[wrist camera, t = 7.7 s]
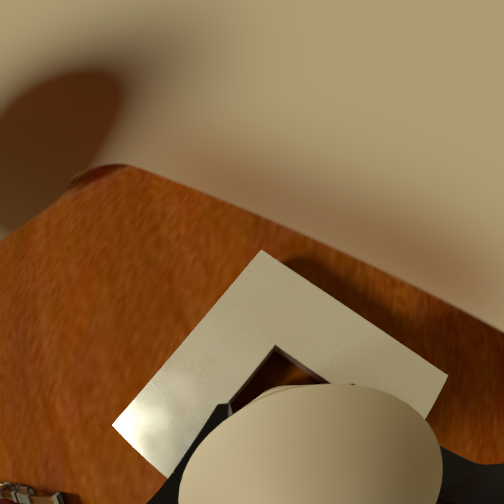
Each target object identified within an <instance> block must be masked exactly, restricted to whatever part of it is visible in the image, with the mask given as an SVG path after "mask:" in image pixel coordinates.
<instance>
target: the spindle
mask: <svg viewBox="0 0 504 504" xmlns="http://www.w3.org/2000/svg"><path fill="white" fill-rule="evenodd" d="M442 474H443V467H442V456H441V451H440V446H439V444H438V441H437V439H436V436H435V434H434V432H433V431H432V429H431V427H430V426H429V424H428V423H427V421H426V420H425V419H424V418H423V417H422V416H421V415H420V413H419V412H417V411H416V410H415V409H414V408H412V407H411V406H410V405H409V404H407V403H406V402H404V401H402V400H401V399H399V398H397V397H395V396H393V395H391V394H388V393H386V392H383V391H381V390H377V389H373V388H369V387H365V386H358V385H350V384H317V385H287V386H277V387H274V388H271V389H269V390H267V391H265V392H264V393H262V394H261V395H260V396H258V397H257V398H256V399H254V400H253V401H251V402H250V403H249V404H247V405H246V406H245V407H243V408H242V409H240V410H239V411H238V412H236V413H235V414H233V415H232V416H230V417H229V418H228V419H226V420H225V421H223V422H222V423H221V424H220V425H219V426H218V427H216V428H215V429H214V430H213V431H212V432H211V433H210V434H209V435H208V436H207V437H206V438H205V439H204V440H203V441H202V443H201V444H200V445H199V446H198V447H197V449H196V451H195V452H194V454H193V455H192V457H191V458H190V460H189V462H188V464H187V466H186V468H185V471H184V473H183V476H182V480H181V484H180V489H179V499H178V501H179V504H436V501H437V499H438V496H439V492H440V488H441V483H442Z"/></svg>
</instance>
